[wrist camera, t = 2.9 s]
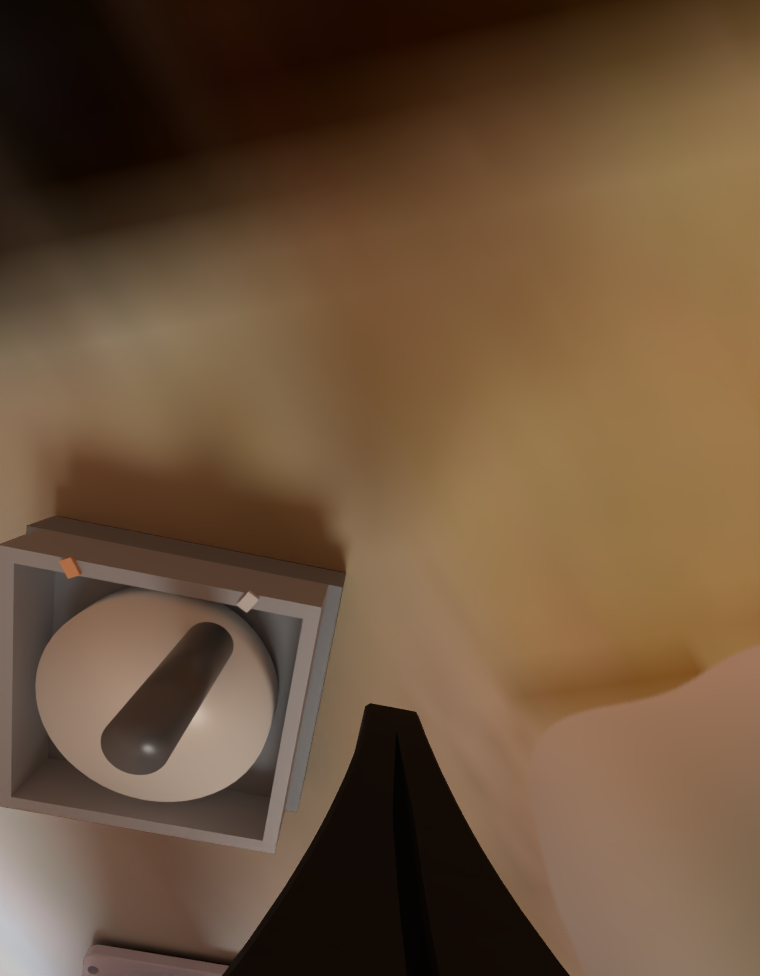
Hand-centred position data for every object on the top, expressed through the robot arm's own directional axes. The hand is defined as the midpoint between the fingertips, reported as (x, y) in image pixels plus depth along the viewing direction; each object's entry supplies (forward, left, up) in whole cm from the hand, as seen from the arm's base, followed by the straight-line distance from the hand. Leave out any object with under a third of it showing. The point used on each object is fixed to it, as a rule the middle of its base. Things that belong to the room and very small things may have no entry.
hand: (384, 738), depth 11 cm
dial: (-3, +7, -4) cm, 9 cm away
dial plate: (-3, +7, -5) cm, 10 cm away
